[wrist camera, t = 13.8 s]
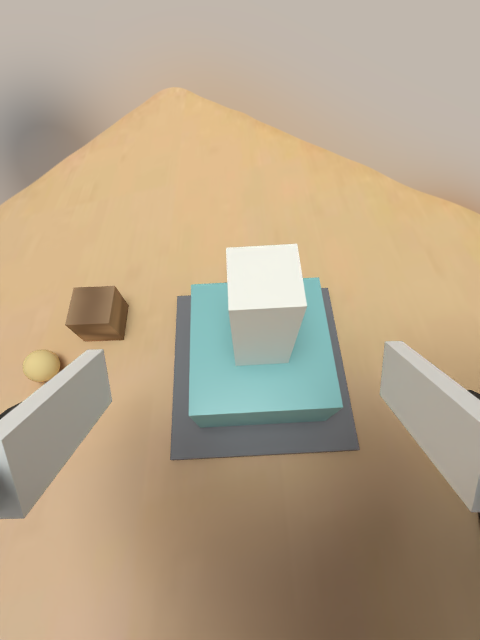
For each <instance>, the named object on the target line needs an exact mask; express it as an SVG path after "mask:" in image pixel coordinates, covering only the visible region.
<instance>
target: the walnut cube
mask: <svg viewBox="0 0 480 640" xmlns="http://www.w3.org/2000/svg"><path fill="white" fill-rule="evenodd" d="M128 306H129V305H128V304H127V303H126V301H125V300H124V298H123V297H122V295H121V294H120V293H119V291H118V290H117V288H116V287H115V286H104V287H78V288H74V289H73V294H72V298H71V302H70V307H69V311H68V315H67V319H66V324H65V325H66V326H67V327H68V328H69V329H71V330H72V331H73V332H74V333H75V334H77V335H78V336H79V337H80V338H81V339H83V340H84V341H108V340H124V335H125V327H126V320H127V313H128Z"/></svg>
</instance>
